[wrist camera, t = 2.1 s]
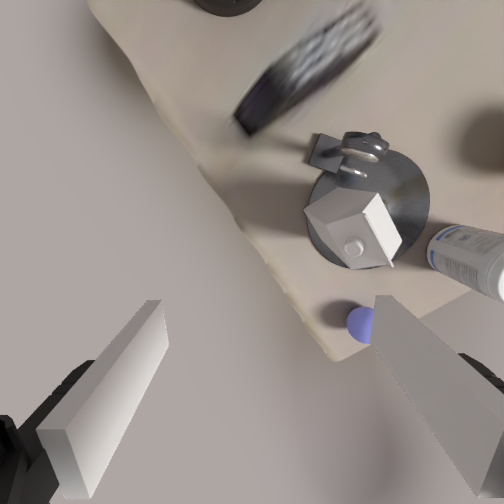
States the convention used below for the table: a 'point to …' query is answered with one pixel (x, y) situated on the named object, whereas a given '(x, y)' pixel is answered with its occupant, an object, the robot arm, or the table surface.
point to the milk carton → (355, 227)
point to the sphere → (360, 324)
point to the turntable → (391, 192)
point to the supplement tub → (470, 258)
